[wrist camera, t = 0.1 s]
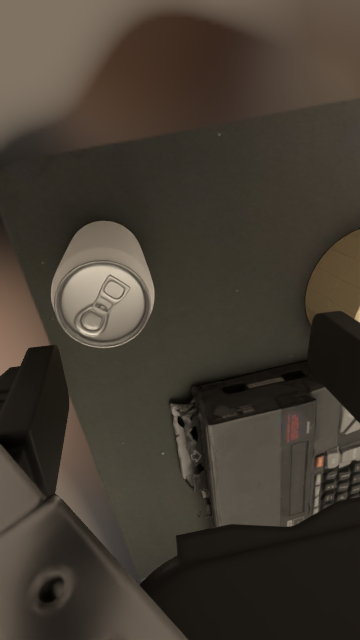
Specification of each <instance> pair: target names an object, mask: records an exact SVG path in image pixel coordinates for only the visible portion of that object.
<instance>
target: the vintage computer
mask: <svg viewBox="0 0 360 640" xmlns="http://www.w3.org/2000/svg"><path fill="white" fill-rule="evenodd" d="M191 393H192V395H193V399H192V401H191V403H190V404H187V405H183V404H174V403H170V409H171V412H172V414H173V415H174V420H173V424H174V429H175V434H176V435H178V437H176V441H177V445H178V454H179V461H180V468H181V474H182V477H183V479H184V480H185V481H186V483H187V484H188V485H189V486H190V488H191V489H192V491H193V492H196V491H198V490H199V489H201V492H202V495H203V498H206V512H207V517H206V518H209V524H210V528H215V527H220V526H224V525H229V524H239V525H261V526H282V527H290V526H294V525H296V524H298V523H300V522H302V521H303V520H305V519H307V518H309V517H310V516H312V515H314V514H316V513H317V512H319V511H321V510H323V509H324V508H326V507H328V506H330V505H331V504H333V503H335V502H337V501H342V500H346V499H351V498H356V497H360V423H359V422H358V421H357V420H356V419H355V418H354V417H353V416H352V415H351V414H350V413H349V412H348V411H347V410H346V409H345V408H344V406H343V405H342V404H341V403H340V402H339V401H338V400H337V399H336V398H335V397H334V396H333V395H332V394H331V393H330V392H329V391H328V390H327V389H326V388H325V387H324V386H323V384H322V383H321V382H320V381H319V380H318V379H317V378H316V377H315V376H314V375H313V374H312V372H311V371H310V368H309V365H308V362H303V363H297V364H291V365H287V366H284V367H279V368H273V369H270V370H266V371H263V372H259V373H255V374H251V375H246V376H242V377H238V378H234V379H231V380H227V381H221V382H215V383H210V384H205V385H200V386H198V387H197V386H193V387H192V389H191ZM192 406H194V408H193V409H192V410H191V411H187V410H189V409H190V408H191V407H192ZM193 413H194V418H193V419H192V421H191V420H190V417H191V416H192V415H193ZM178 416H181V418H182V420H183V422H184V423H185V426H184V427H182V426H180V425H179V424H178V421H177V418H178ZM194 426H196V430H197V440H196V439H193V437H192V434H191V430H192V428H193V427H194ZM187 479H193V485H194V487H193V486H191V485H190V483H189V482H188V480H187ZM203 489H204V490H203ZM198 516H199V517H200V512H199V514H198ZM206 518H205V519H206ZM205 519H204V520H205Z"/></svg>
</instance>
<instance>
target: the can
mask: <svg viewBox="0 0 360 640" xmlns="http://www.w3.org/2000/svg"><path fill="white" fill-rule="evenodd" d="M51 301H52V305H53V308H54V311H55V315H56V318H57V320H58V322H59V324H60V326H61V327H62V329H63V330H64V331H65V332H66V333H67V334H68V335H69V336H70V337H71V338H73V339H74V340H76V341H77V342H79V343H81V344H84V345H86V346H90V347H94V348H112V347H117V346H120V345H123V344H125V343H127V342H129V341H131V340H132V339H134V338H135V337H136V336H137V335H138V334H139V333H140V332H141V331H142V330H143V328H144V327H145V325H146V324H147V322H148V319H149V316H150V314H151V312H152V309H153V305H154V286H153V282H152V278H151V275H150V272H149V269H148V266H147V264H146V261H145V258H144V255H143V252H142V250H141V247H140V245H139V243H138V241H137V239H136V238H135V236H134V235H133V234H132V233H131V232H130V231H129V230H128V229H127V228H125V227H124V226H122V225H120V224H118V223H115V222H111V221H96V222H92V223H90V224H87V225H85V226H84V227H82V228H81V229H80V230H79V231H78V232H77V233H76V234H75V235H74V237H73V238H72V240H71V242H70V244H69V246H68V248H67V250H66V252H65V254H64V256H63V258H62V260H61V262H60V264H59V266H58V268H57V271H56V273H55V276H54V278H53V282H52V287H51Z"/></svg>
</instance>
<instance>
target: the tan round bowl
mask: <svg viewBox="0 0 360 640" xmlns="http://www.w3.org/2000/svg"><path fill="white" fill-rule="evenodd" d="M305 307H306V313H307V317H308V320H309V322H310V324H311V326H312V320H313V317H314V316H315V315H316V314H317V313H324V312H333V311H342V312H344V313H346V314H347V315H349V316H350V317H352V318H353V319H355V320H356V321H358V322H360V229H359V230H356V231H354V232H352V233H350V234H348V235H346V236H345V237H343V238H342V239H340V240H339V241H338V242H336V243H335V244H334V245H333V246H332V247H331V248H330V249H329V250H328V251H327V252H326V253H325V254H324V255H323V257H322V258H321V259H320V261H319V262H318V264H317V265H316V267H315V269H314V271H313V273H312V275H311V277H310V280H309V283H308V286H307V290H306V297H305Z"/></svg>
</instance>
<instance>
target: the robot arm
mask: <svg viewBox="0 0 360 640" xmlns="http://www.w3.org/2000/svg"><path fill="white" fill-rule="evenodd" d="M307 360H308V365H309V368H310V371H311V372H312V374H313V375H314V376H315V377H316V378H317V379H318V380H319V381H320V382H321V383H322V384H323V386H324V387H325V388H326V389H327V390H328V391H329V392H330V393H331V394H332V395H333V396H334V397H335V398H336V399H337V400H338V401H339V402H340V403H341V404H342V405H343V406H344V408H345V409H346V410H347V411H348V412H349V413H350V414H351V415H352V416H353V417H354V418H355V419H356V420H357V421H358V422H359V423H360V322H358V321H356V320H355V319H353V318H352V317H350V316H349V315H347V314H346V313H344V312H342V311H333V312H324V313H317V314H316V315H315V316H314V317H313V320H312V326H311V334H310V341H309V348H308V356H307ZM68 412H69V394H68V388H67V384H66V379H65V375H64V370H63V366H62V361H61V357H60V353H59V349H58V347H57V345H50V346H41V347H33V348H29V349H28V350H27V352H26V354H25V357H24V359H23V361H22V363H21V366H18V367H11V368H9V369H8V370H7V371H6V372H5V373H3V374H2V375H1V376H0V640H360V497H356V498H351V499H346V500H342V501H337V502H335V503H333V504H331V505H330V506H328V507H326V508H324V509H323V510H321V511H319V512H317V513H316V514H314V515H312V516H310V517H309V518H307V519H305V520H303V521H302V522H300V523H298V524H296V525H294V526H290V527H282V526H261V525H239V524H229V525H224V526H220V527H215V528H210V529H206V530H201V531H196V532H191V533H187V534H182V535H177V536H176V541H177V555H178V556H176V557H174V558H172V559H170V560H169V561H167V562H165V563H164V564H163V565H161V566H160V567H158V568H157V569H156V570H154V571H153V572H152V573H151V574H150V575H149V576H148V577H147V578H146V579H145V580H144V581H143V582H142V583H141V584H140V585H139V584H138V583H137V582H136V581H135V580H134V579H133V578H132V576H131V575H130V574H129V573H128V572H127V571H126V570H125V569H124V568H123V567H122V566H121V564H120V563H119V562H118V561H117V560H116V559H115V558H114V556H113V555H112V554H111V553H110V552H109V551H108V550H107V549H106V548H105V546H104V545H103V544H102V543H101V542H100V541H99V540H98V539H97V537H96V536H95V535H94V534H93V533H92V532H91V531H90V530H89V529H88V527H87V526H86V525H85V524H84V523H83V522H82V521H81V520H80V519H79V518H78V516H77V515H76V514H75V513H74V512H73V511H72V510H71V509H70V507H69V506H68V505H67V504H66V503H65V502H64V501H63V500H62V499H61V498H60V497H59V496H58V495H56V494H55V491H56V485H57V479H58V472H59V466H60V460H61V454H62V448H63V442H64V436H65V430H66V424H67V418H68Z"/></svg>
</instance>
